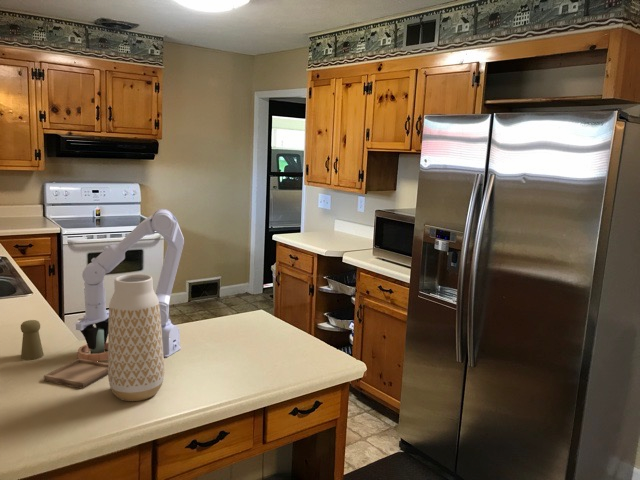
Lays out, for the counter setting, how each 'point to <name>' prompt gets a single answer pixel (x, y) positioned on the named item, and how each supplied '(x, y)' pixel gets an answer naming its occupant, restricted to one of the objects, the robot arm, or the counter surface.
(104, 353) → the faceted terracotta ring
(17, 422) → the counter surface
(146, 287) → the vase
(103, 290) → the robot arm
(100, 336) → the gray-green peg
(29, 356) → the olive pepper mill
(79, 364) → the walnut tray
